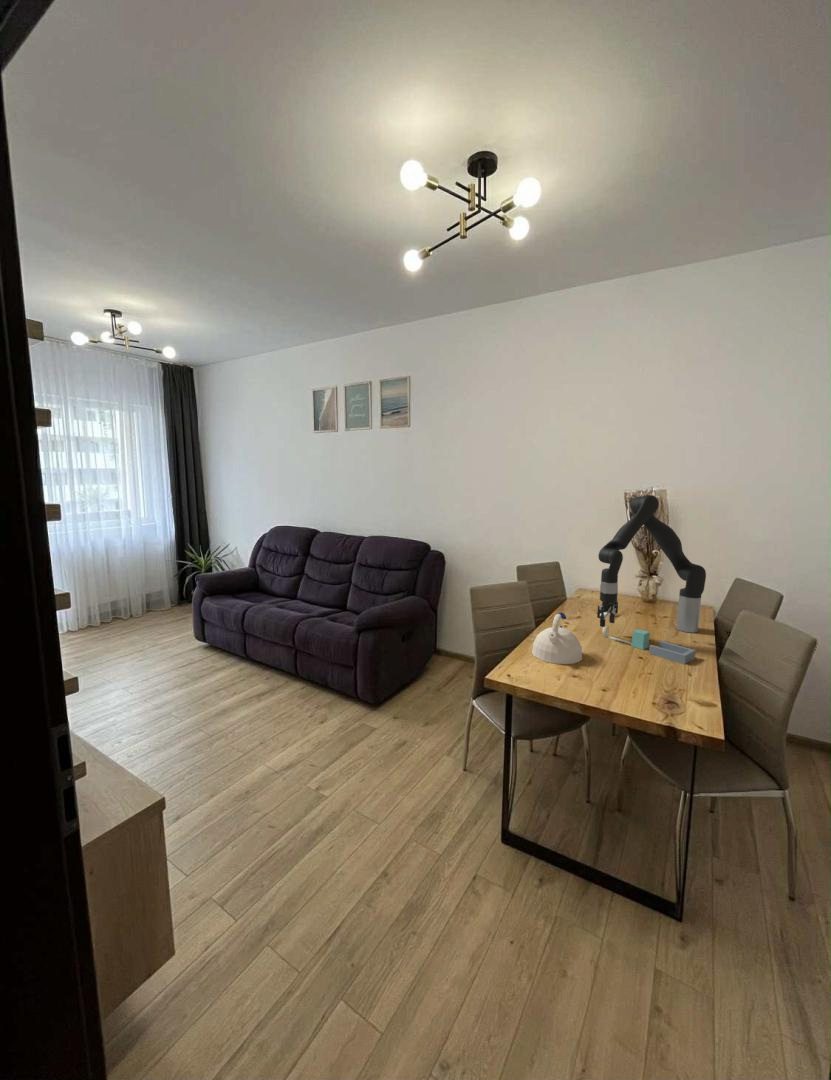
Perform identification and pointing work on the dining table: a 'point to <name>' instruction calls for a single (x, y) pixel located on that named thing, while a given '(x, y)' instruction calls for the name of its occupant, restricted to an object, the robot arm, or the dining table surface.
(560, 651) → the kettle
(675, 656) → the lane
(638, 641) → the tethered block
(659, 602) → the dining table surface
